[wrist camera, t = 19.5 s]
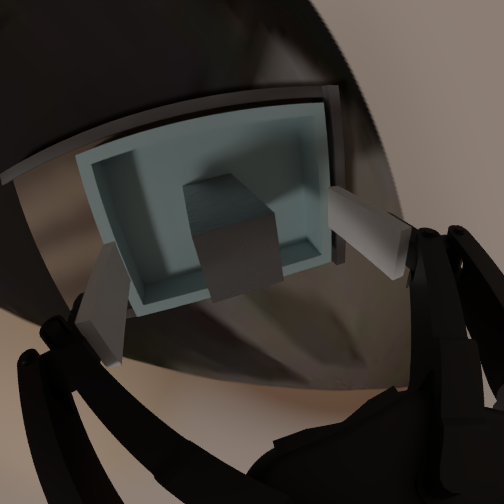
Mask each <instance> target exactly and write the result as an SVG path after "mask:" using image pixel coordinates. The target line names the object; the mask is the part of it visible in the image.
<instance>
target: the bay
mask: <svg viewBox="0 0 504 504" xmlns="http://www.w3.org/2000/svg"><path fill="white" fill-rule="evenodd" d="M304 103H324V111H325V121H326V131H327V143H328V156H329V172H330V187H333V186H339V187H341V188H343V189H345V190H346V177H345V154H344V137H343V124H342V113H341V103H340V94H339V86H338V85H325V86H297V87H279V88H266V89H256V90H247V91H239V92H232V93H225V94H219V95H213V96H207V97H202V98H197V99H192V100H187V101H182V102H178V103H174V104H169V105H165V106H161V107H158V108H154V109H150V110H147V111H143V112H140V113H136V114H133V115H130V116H127V117H124V118H120V119H117V120H115V121H112V122H109V123H106V124H103V125H100V126H98V127H95V128H92V129H90V130H87V131H85V132H82V133H80V134H77V135H75V136H73V137H70V138H68V139H66V140H64V141H61V142H59V143H57V144H55V145H53V146H51V147H49V148H47V149H44V150H42V151H40V152H39V153H37V154H35V155H33V156H31V157H29V158H27V159H25V160H23V161H22V162H20V163H18V164H16V165H15V166H13V167H11V168H9V169H8V170H6V171H5V172H3V173H1V174H0V178H1V182H2V185H4V184H6V183H8V182H10V181H11V180H13V181H14V184H15V188H16V191H17V194H18V197H19V200H20V203H21V206H22V209H23V212H24V215H25V217H26V220H27V223H28V225H29V228H30V230H31V233H32V235H33V238H34V240H35V242H36V245H37V247H38V249H39V251H40V254H41V256H42V258H43V260H44V262H45V264H46V266H47V268H48V270H49V272H50V274H51V276H52V278H53V280H54V282H55V284H56V286H57V288H58V289H59V291H60V293H61V295H62V297H63V298H64V300H65V302H66V304H67V305H68V307H69V309H70V310H71V309H72V306H73V303H74V301H75V299H76V298H77V297H78V295H79V294H80V293H84V292H85V290H86V287H87V284H88V282H89V279H90V276H91V274H92V271H93V268H94V266H95V263H96V261H97V258H98V256H99V253H100V251H101V249H102V246H103V245H104V243H103V241H102V238H101V235H100V233H99V230H98V227H97V225H96V222H95V219H94V216H93V213H92V211H91V208H90V205H89V202H88V199H87V195H86V192H85V189H84V186H83V182H82V179H81V176H80V172H79V168H78V165H77V161H76V157H75V155H78V154H80V153H83V152H85V151H88V150H90V149H93V148H95V147H98V146H101V145H104V144H106V143H109V142H112V141H115V140H118V139H121V138H124V137H127V136H130V135H134V134H137V133H140V132H144V131H147V130H151V129H154V128H158V127H162V126H165V125H169V124H173V123H177V122H182V121H186V120H190V119H195V118H200V117H205V116H210V115H215V114H221V113H226V112H232V111H239V110H245V109H253V108H261V107H269V106H279V105H290V104H304ZM345 245H346V240H344V239H343V238H342V237H341V236H339V235H338V234H337V233H336V232H334V231H333V230H332V229H331V261H333V262H334V263H335V264H336V265H339V264H342V263H345ZM135 316H137V315H136V314H135V312H134V310H133V308H132V306H131V304H130V302H129V300H128V304H127V312H126V319H127V318H131V317H135Z"/></svg>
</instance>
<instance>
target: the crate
mask: <svg viewBox="0 0 504 504" xmlns="http://www.w3.org/2000/svg"><path fill="white" fill-rule="evenodd" d="M75 157H76V161H77V165H78V168H79V172H80V176H81V179H82V182H83V186H84V189H85V192H86V195H87V199H88V202H89V205H90V208H91V211H92V213H93V216H94V219H95V222H96V225H97V227H98V230H99V233H100V235H101V238H102V241H103V243H104V244H107V243H110V242H113V241H115V243H116V246H117V249H118V251H119V253H120V256H121V258H122V261H123V263H124V266H125V268H126V270H127V273H128V275H129V277H130V279H131V283H130V289H129V296H128V300H129V302H130V304H131V306H132V308H133V310H134V312H135V314H136V315H137V317H139V316H143V315H147V314H151V313H154V312H158V311H162V310H166V309H170V308H174V307H177V306H181V305H185V304H189V303H192V302H196V301H200V300H203V299H207V298H211V296H210V293H209V290H208V287H207V284H206V281H205V278H204V275H203V272H202V268H201V265H200V262H199V259H198V256H197V252H196V249H195V246H194V243H193V239H192V236H191V231H190V226H189V221H188V215H187V210H186V204H185V199H184V193H183V187H182V186H183V185H187V184H190V183H194V182H198V181H201V180H205V179H209V178H213V177H217V176H220V175H224V174H228V173H231V174H232V175H234V176H235V177H236V178H237V179H238V180H239V181H240V182H241V183H243V184H244V185H245V186H246V187H247V188H248V189H249V190H250V191H251V192H252V193H254V194H255V195H256V196H257V197H258V198H259V199H260V200H261V201H262V202H263V203H265V204H266V205H267V206H268V207H269V208H270V209H271V210H272V211H273V212H274V213H275V218H276V226H277V233H278V240H279V247H280V255H281V263H282V270H283V276H286V275H290V274H293V273H296V272H299V271H303V270H306V269H309V268H312V267H315V266H319V265H322V264H325V263H328V262H331V228H329V227H328V187H330V172H329V156H328V143H327V131H326V121H325V111H324V103H304V104H290V105H279V106H269V107H261V108H253V109H245V110H239V111H232V112H226V113H221V114H215V115H210V116H205V117H200V118H195V119H190V120H186V121H182V122H177V123H173V124H169V125H165V126H162V127H158V128H154V129H151V130H147V131H144V132H140V133H137V134H134V135H130V136H127V137H124V138H121V139H118V140H115V141H112V142H109V143H106V144H104V145H101V146H98V147H95V148H93V149H90V150H88V151H85V152H83V153H80V154H78V155H75Z"/></svg>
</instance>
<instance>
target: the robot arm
mask: <svg viewBox="0 0 504 504" xmlns="http://www.w3.org/2000/svg"><path fill="white" fill-rule="evenodd" d="M328 227H329V228H331V229H332V230H333V231H334V232H336V233H337V234H338V235H339V236H341V237H342V238H343V239H344V240H346V241H347V242H348V243H349V244H351V245H352V246H353V247H354V248H355V249H357V250H358V251H359V252H360V253H361V254H363V255H364V256H365V257H366V258H367V259H369V260H370V261H371V262H372V263H373V264H374V265H376V266H377V267H378V268H379V269H380V270H381V271H383V272H384V273H385V274H386V275H387V276H388V277H389V278H391V279H392V280H395V279H397V278H399V277H402V276H403V274H404V270H405V265H406V266H407V267H408V268H409V269H410V272H409V276H408V281H407V285H406V288H408V285H409V286H410V303H411V364H410V380H409V386H408V389H407V390H406V391H401V392H398V391H397V390H396V388H395V387H394V386H392V387H391V388H389V389H387V390H386V391H384V392H382V393H380V394H379V395H377V396H375V397H373V398H372V399H370V400H368V401H367V402H366V403H365V404H363V405H362V406H361V407H360V408H359V409H358V410H357V411H355V412H354V413H353V414H352V415H351V416H349V417H348V418H347V419H346V420H344V421H343V422H341V423H336V424H331V425H326V426H321V427H316V428H309V429H305V430H302V431H300V432H297V433H294V434H291V435H289V436H286V437H283V438H280V439H277V440H274V441H273V444H274V448H273V449H271V450H270V451H268V452H267V453H265V454H264V455H263V456H261V457H260V458H259V459H258V460H257V461H256V462H255V463H254V464H253V465H252V467H251V468H250V469H249V471H248V472H247V474H246V475H245V474H243V473H241V472H240V471H238V470H236V469H235V468H233V467H231V466H229V465H228V464H226V463H224V462H223V461H221V460H219V459H218V458H216V457H214V456H213V455H211V454H210V453H208V452H207V451H205V450H204V449H202V448H201V447H199V446H198V445H196V444H195V443H193V442H191V441H189V440H187V439H185V438H184V437H182V436H181V435H180V434H178V433H177V432H176V431H174V430H173V429H171V428H170V427H169V426H168V425H167V424H165V423H164V422H163V421H161V420H160V419H159V418H158V417H157V416H155V415H154V414H153V413H152V412H150V411H149V410H148V409H147V408H146V407H145V406H144V405H142V404H141V403H140V402H139V401H138V400H137V399H136V398H135V397H134V396H132V395H131V394H130V393H129V392H128V391H127V390H126V389H125V388H124V387H123V386H122V385H121V384H120V383H119V382H118V381H117V380H116V379H115V378H114V377H113V376H112V375H111V374H110V373H109V372H108V371H107V370H106V369H105V368H104V367H103V366H102V365H101V364H100V361H102V362H103V363H104V365H105V366H106V367H107V368H109V367H115V366H121V365H122V354H123V341H124V330H125V321H126V312H127V304H128V296H129V289H130V283H131V279H130V277H129V275H128V273H127V270H126V268H125V266H124V263H123V261H122V258H121V256H120V253H119V251H118V249H117V246H116V243H115V241H113V242H110V243H107V244H104V245H103V246H102V249H101V251H100V253H99V256H98V258H97V261H96V263H95V266H94V268H93V271H92V274H91V276H90V279H89V282H88V284H87V287H86V290H85V292H84V293H80V294H79V295H78V297H77V298H76V299H75V301H74V303H73V306H72V309H71V312H70V315H69V318H68V321H67V322H66V321H65V319H64V318H63V317H62V316H60V315H56V316H53V317H51V318H50V319H48V320H47V321H46V322H45V323H44V324H43V325H42V327H41V328H40V332H39V334H40V337H41V338H42V340H43V341H44V342H45V344H47V346H48V347H49V349H50V351H48V352H46V353H44V354H42V355H39V353H38V352H37V351H36V350H35V349H28V350H26V351H25V352H24V353H22V354H21V356H20V357H19V360H18V362H17V372H18V385H19V394H20V402H21V408H22V414H23V420H24V425H25V430H26V435H27V439H28V444H29V447H30V451H31V455H32V459H33V462H34V466H35V469H36V472H37V475H38V478H39V481H40V483H41V486H42V489H43V492H44V494H45V496H46V499H47V502H48V504H124V502H123V501H122V499H121V498H120V496H119V495H118V493H117V491H116V490H115V488H114V486H113V485H112V483H111V481H110V479H109V478H108V476H107V474H106V472H105V470H104V469H103V467H102V465H101V463H100V461H99V459H98V457H97V455H96V453H95V451H94V448H93V446H92V444H91V442H90V440H89V438H88V435H87V433H86V430H85V428H84V426H83V423H82V421H81V418H80V416H79V413H78V410H77V407H76V405H75V402H74V399H73V396H72V393H71V392H74V391H76V390H77V391H78V393H79V394H80V395H81V397H82V398H83V399H84V401H85V402H86V403H87V405H88V406H89V407H90V408H91V410H92V411H93V412H94V413H95V415H96V416H97V417H98V418H99V419H100V420H101V422H102V423H103V424H104V425H105V426H106V428H107V429H108V430H109V431H110V432H111V433H112V434H113V435H114V437H115V438H116V439H117V440H118V441H119V442H120V443H121V444H122V445H123V446H124V447H125V448H126V449H127V450H128V451H129V452H130V453H131V454H132V455H133V456H134V457H135V458H136V459H137V460H138V461H139V462H140V463H141V464H142V465H143V466H144V467H146V468H147V469H148V470H149V471H150V472H151V473H152V474H153V475H154V478H155V479H156V481H157V482H158V483H159V484H160V485H162V486H163V487H164V488H165V489H166V490H168V491H169V492H170V493H171V494H173V495H174V496H175V497H177V498H178V499H179V500H181V501H182V502H183V503H185V504H504V275H503V273H502V272H501V271H500V269H499V268H498V267H497V265H496V264H495V263H494V262H493V260H492V259H491V258H490V256H489V255H488V254H487V253H486V251H485V250H484V249H483V248H482V247H481V246H480V244H479V243H478V242H477V241H476V240H475V238H474V237H473V236H472V235H471V234H470V233H469V232H468V231H467V230H466V229H465V228H463V227H462V226H459V225H457V226H455V225H452V226H449V228H448V233H447V235H440V234H439V233H438V232H437V231H436V230H433V229H430V228H420V229H416V228H415V227H413V226H412V225H410V224H408V223H407V222H405V221H403V220H402V219H400V218H398V217H397V216H395V215H393V214H391V213H388V212H385V211H384V210H382V209H380V208H378V207H377V206H375V205H373V204H371V203H369V202H368V201H366V200H364V199H362V198H360V197H358V196H357V195H355V194H353V193H351V192H349V191H347V190H345V189H343V188H341V187H339V186H333V187H328ZM462 261H463V267H462V268H461V265H462ZM466 327H467V329H468V331H469V333H470V336H471V338H472V339H468V337H467V331H466ZM480 361H481V362H480ZM481 364H482V367H483V370H484V373H485V376H486V378H487V381H488V384H489V386H490V388H491V390H492V392H493V394H494V396H495V398H496V400H497V402H496V403H495V404H494V405H493V408H488V407H484V393H483V392H484V391H483V380H482V370H481Z"/></svg>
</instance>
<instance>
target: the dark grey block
mask: <svg viewBox="0 0 504 504" xmlns="http://www.w3.org/2000/svg"><path fill="white" fill-rule="evenodd" d="M182 187H183V193H184V199H185V204H186V210H187V215H188V221H189V226H190V231H191V236H192V239H193V243H194V246H195V249H196V252H197V256H198V259H199V262H200V265H201V268H202V272H203V275H204V278H205V281H206V284H207V287H208V290H209V293H210V296H211V299H212V302H213V303H214V302H218V301H221V300H224V299H228V298H231V297H234V296H237V295H241V294H244V293H247V292H250V291H253V290H257V289H260V288H263V287H266V286H269V285H272V284H275V283H278V282H281V281H284V278H283V270H282V263H281V255H280V247H279V240H278V233H277V226H276V218H275V213H274V212H273V211H272V210H271V209H270V208H269V207H268V206H267V205H266V204H265V203H263V202H262V201H261V200H260V199H259V198H258V197H257V196H256V195H255V194H254V193H252V192H251V191H250V190H249V189H248V188H247V187H246V186H245V185H244V184H243V183H241V182H240V181H239V180H238V179H237V178H236V177H235V176H234V175H232V174H231V173H228V174H224V175H220V176H217V177H213V178H209V179H205V180H201V181H198V182H194V183H190V184H187V185H183V186H182Z"/></svg>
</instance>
